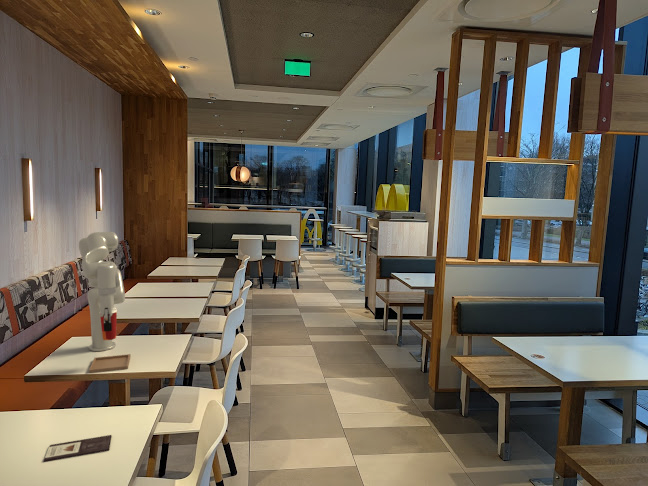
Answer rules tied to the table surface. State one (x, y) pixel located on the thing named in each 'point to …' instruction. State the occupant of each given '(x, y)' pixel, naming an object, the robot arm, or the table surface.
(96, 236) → the robot arm
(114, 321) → the paper cup
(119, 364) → the tray
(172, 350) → the table surface
